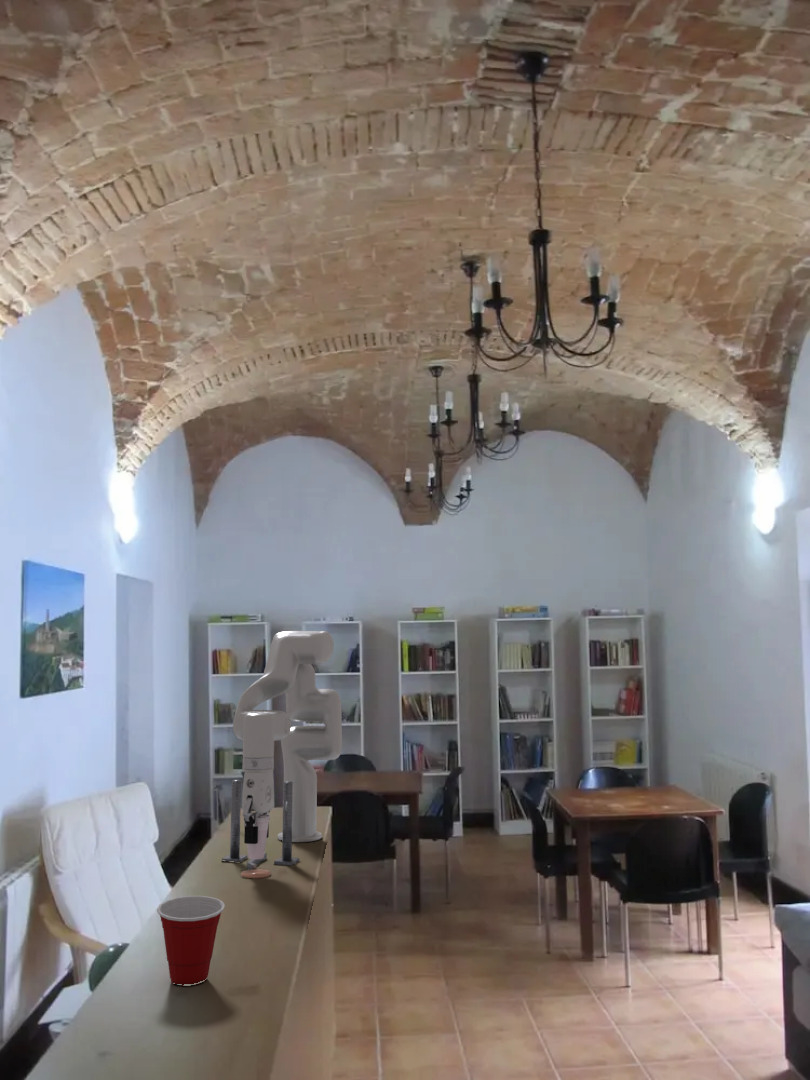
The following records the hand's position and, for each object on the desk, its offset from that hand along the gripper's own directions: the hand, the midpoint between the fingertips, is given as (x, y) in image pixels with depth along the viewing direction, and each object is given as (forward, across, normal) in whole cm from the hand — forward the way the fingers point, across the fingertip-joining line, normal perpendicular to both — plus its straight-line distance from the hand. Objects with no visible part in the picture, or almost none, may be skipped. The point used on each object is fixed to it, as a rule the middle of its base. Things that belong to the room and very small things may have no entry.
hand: (256, 839), depth 222 cm
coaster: (+8, 0, 0) cm, 8 cm away
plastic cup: (+9, -70, -16) cm, 72 cm away
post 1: (+8, +14, +11) cm, 20 cm away
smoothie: (+4, 0, 0) cm, 4 cm away
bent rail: (+8, +10, +3) cm, 13 cm away
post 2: (+8, +14, -3) cm, 17 cm away
